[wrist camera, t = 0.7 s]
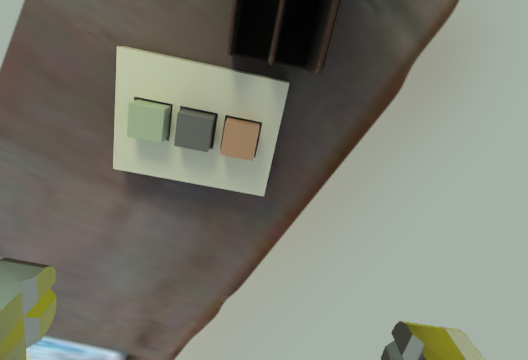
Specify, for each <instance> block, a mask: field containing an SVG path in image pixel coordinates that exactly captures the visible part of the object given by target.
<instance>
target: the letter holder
mask: <svg viewBox="0 0 528 360" xmlns="http://www.w3.org/2000/svg"><path fill="white" fill-rule="evenodd" d="M341 3H342V0H233V7H232V15H231V23H230V32H229V40H228V48H227V53H228V55H229V56H231V55H237V56H241V57H247V58H252V59H257V60H261V61H266V62H269V64H270V65H272V64H274V63H276V64H281V65H287V66H292V67H297V68H301V69H305V70H308V71H309V72H311V73H313V74H314V75H319V74H321V73H322V72H323V71H324V68H325V65H326V61H327V57H328V53H329V49H330V45H331V41H332V37H333V33H334V30H335V26H336V22H337V18H338V15H339V10H340V7H341Z"/></svg>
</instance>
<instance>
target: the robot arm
mask: <svg viewBox="0 0 528 360" xmlns="http://www.w3.org/2000/svg"><path fill="white" fill-rule="evenodd" d="M55 282H56V271H55V268H53V267H52V266H49V265H44V264H38V263H33V262H27V261H22V260H16V259H11V258H2V257H0V360H26V348H27V347H29V346H31V345H33V344H35V343H37V342H38V341H40V340H41V339H42V337H43V336H44V335H45V333H46V332H47V331H48V329H49V327H50V325H51V323H52V321H53V319H54V317H55V313H56V308H57V296H56V295H55V294H54V293H53V291H52V290H51V289H50V288H51V286H52V285H53V284H54V283H55ZM392 335H393V338H394V341H393V342H391V343H390V344H388V345H387V346H385V349H384V351H383V354H382V356H381V360H485V359H484V358H483V356H482V355H481V354H480V352H479V351H478V350H477V348H476V347H475V345H474V344H473V343H472V341H471V340H470V339H469V337H468V336H467V335H466V334H465V333H464V332H462V331H461V330H459V329H452V328H445V327H435V326H428V325H422V324H415V323H409V322H402V321H400V322H399V323H397V324H396V325H395V327H394V329H393V331H392Z"/></svg>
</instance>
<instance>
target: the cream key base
mask: <svg viewBox="0 0 528 360" xmlns="http://www.w3.org/2000/svg"><path fill="white" fill-rule="evenodd" d="M288 88H289V82H288V81H287V80H283V79H278V78H273V77H269V76H264V75H259V74H255V73H250V72H245V71H241V70H236V69H231V68H227V67H222V66H217V65H213V64H208V63H204V62H199V61H194V60H190V59H185V58H180V57H176V56H171V55H166V54H162V53H157V52H152V51H148V50H143V49H138V48H134V47H129V46H117V60H116V92H115V123H114V155H113V169H117V170H122V171H128V172H133V173H139V174H144V175H150V176H155V177H161V178H166V179H171V180H177V181H182V182H188V183H193V184H199V185H204V186H210V187H215V188H220V189H226V190H231V191H237V192H242V193H248V194H253V195H258V196H264V194H265V190H266V185H267V181H268V176H269V172H270V168H271V163H272V159H273V154H274V150H275V145H276V141H277V137H278V132H279V128H280V123H281V119H282V114H283V110H284V106H285V101H286V97H287V92H288ZM137 99H141V100H146V101H151V102H156V103H161V104H166V105H171V113H170V124H169V134H168V138H167V139H166V140H165V141H163V142H162V143H157V142H151V141H146V140H141V139H136V138H131V137H127V127H128V106H129V102H132V101H134V100H137ZM183 108H185V109H190V110H195V111H200V112H205V113H210V114H215V115H216V117H215V124H214V131H213V138H212V144H211V147H210V149H209V151H208V152H203V151H198V150H193V149H188V148H183V147H177V146H174V142H175V133H176V123H177V113H178V112H179V111H180V110H182V109H183ZM228 117H230V118H235V119H240V120H245V121H250V122H255V123H260V127H259V134H258V139H257V143H256V148H255V153H254V158H253V161H250V160H245V159H240V158H235V157H229V156H224V155H220V152H221V146H222V140H223V134H224V128H225V122H226V120H227V118H228Z"/></svg>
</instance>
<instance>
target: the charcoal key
mask: <svg viewBox="0 0 528 360" xmlns="http://www.w3.org/2000/svg"><path fill="white" fill-rule="evenodd" d="M215 117H216V115H215V114H210V113H205V112H200V111H195V110H190V109H185V108H183V109H182V110H180V111H179V112H178V113H177V123H176V133H175V142H174V146H177V147H183V148H188V149H193V150H198V151H203V152H208V151H209V149H210V147H211V144H212V138H213V131H214V124H215Z"/></svg>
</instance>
